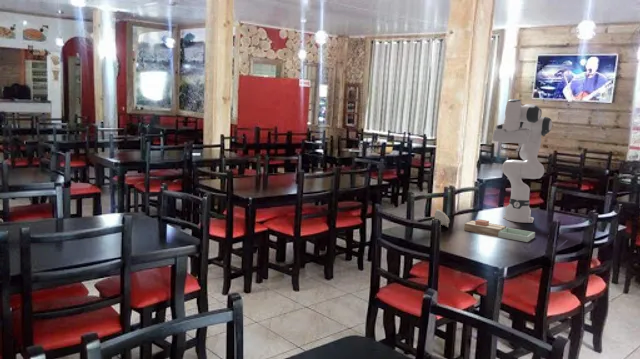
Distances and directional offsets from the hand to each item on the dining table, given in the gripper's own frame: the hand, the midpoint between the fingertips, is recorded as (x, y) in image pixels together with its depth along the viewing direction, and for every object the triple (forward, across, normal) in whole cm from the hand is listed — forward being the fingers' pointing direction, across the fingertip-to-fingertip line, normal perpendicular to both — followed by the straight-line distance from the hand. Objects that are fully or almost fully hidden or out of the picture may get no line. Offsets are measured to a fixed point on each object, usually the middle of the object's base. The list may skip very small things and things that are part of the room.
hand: (509, 150), depth 323 cm
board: (+47, +4, +17) cm, 50 cm away
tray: (+47, -14, +17) cm, 52 cm away
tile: (+43, +6, +17) cm, 47 cm away
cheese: (+48, +28, +34) cm, 65 cm away
